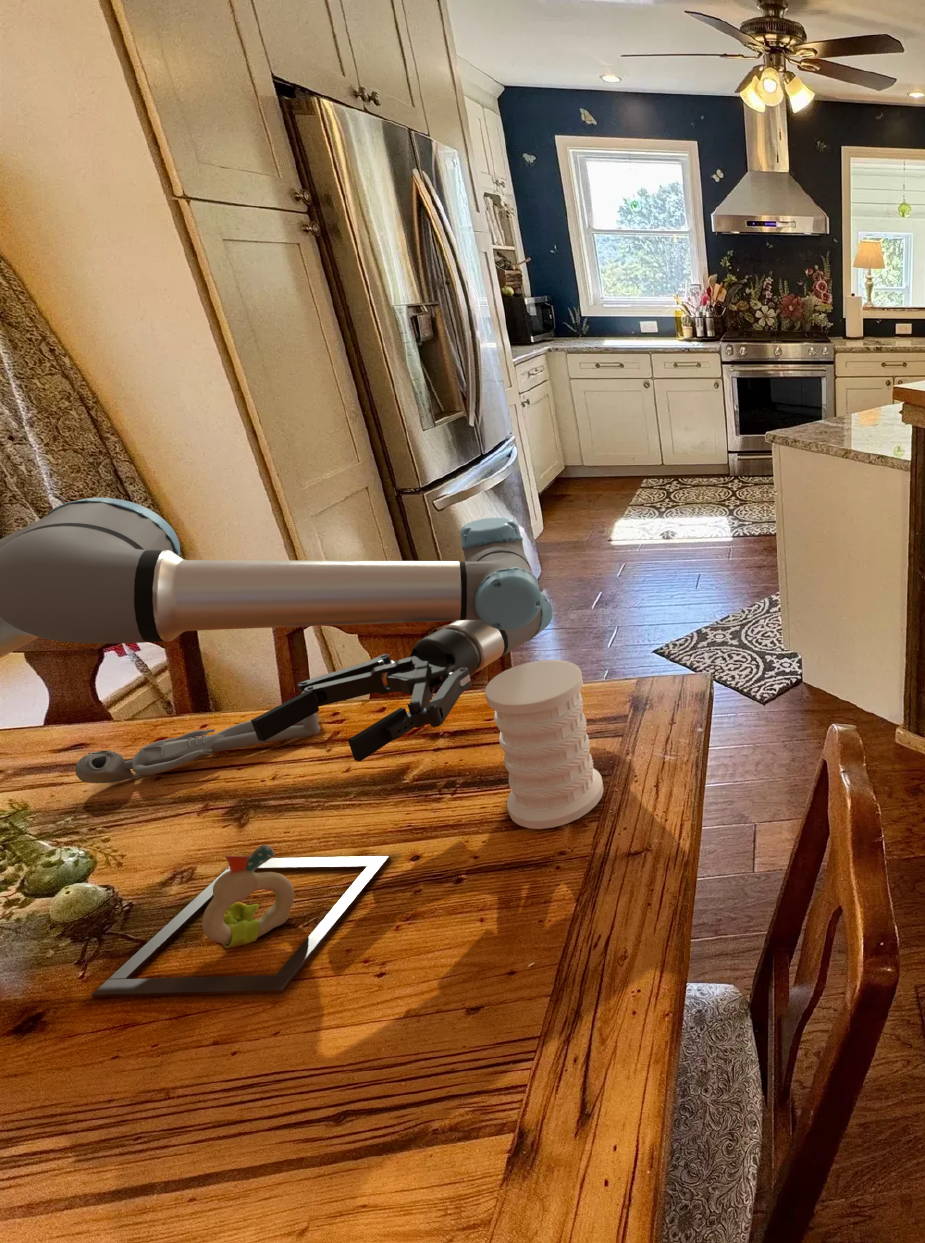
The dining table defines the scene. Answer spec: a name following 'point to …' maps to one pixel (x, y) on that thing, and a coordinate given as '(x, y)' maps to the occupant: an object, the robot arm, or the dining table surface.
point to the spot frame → (128, 987)
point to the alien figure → (181, 751)
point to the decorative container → (544, 743)
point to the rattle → (235, 918)
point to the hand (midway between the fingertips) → (304, 740)
